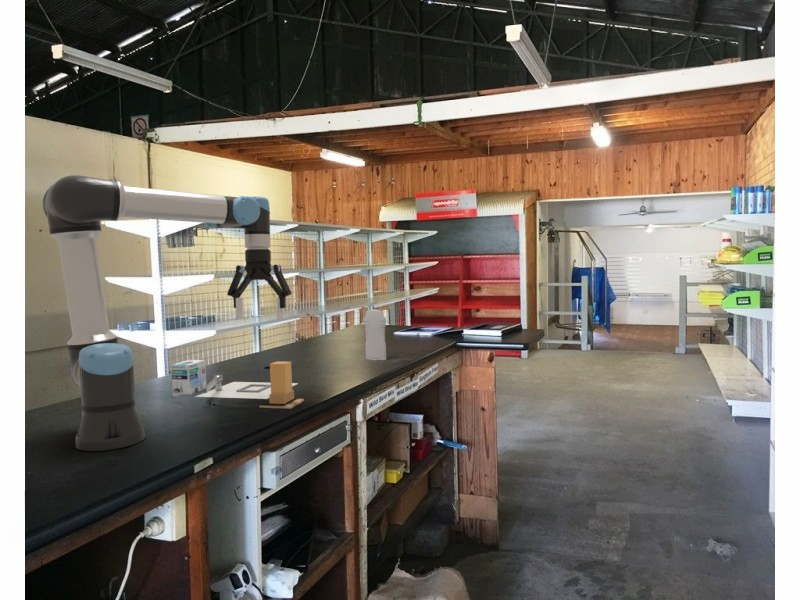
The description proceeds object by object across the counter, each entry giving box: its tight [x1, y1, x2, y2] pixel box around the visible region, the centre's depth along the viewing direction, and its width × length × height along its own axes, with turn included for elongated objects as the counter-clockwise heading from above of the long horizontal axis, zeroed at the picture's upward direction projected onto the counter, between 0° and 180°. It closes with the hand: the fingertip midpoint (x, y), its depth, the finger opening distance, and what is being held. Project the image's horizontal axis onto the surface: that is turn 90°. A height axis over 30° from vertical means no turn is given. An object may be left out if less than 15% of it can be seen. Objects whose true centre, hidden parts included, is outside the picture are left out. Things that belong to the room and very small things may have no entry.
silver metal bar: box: [202, 374, 224, 394], centre depth 190 cm, size 3×22×2 cm, turn 6°
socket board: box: [194, 381, 299, 400], centre depth 199 cm, size 24×25×4 cm
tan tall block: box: [268, 360, 295, 405], centre depth 181 cm, size 7×5×12 cm
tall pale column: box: [363, 308, 387, 361], centre depth 261 cm, size 11×4×22 cm, turn 67°
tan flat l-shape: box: [259, 398, 305, 409], centre depth 182 cm, size 10×10×1 cm
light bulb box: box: [170, 359, 207, 398], centre depth 200 cm, size 11×7×11 cm, turn 169°
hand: (259, 319), depth 182 cm, fingers open, 13 cm apart
